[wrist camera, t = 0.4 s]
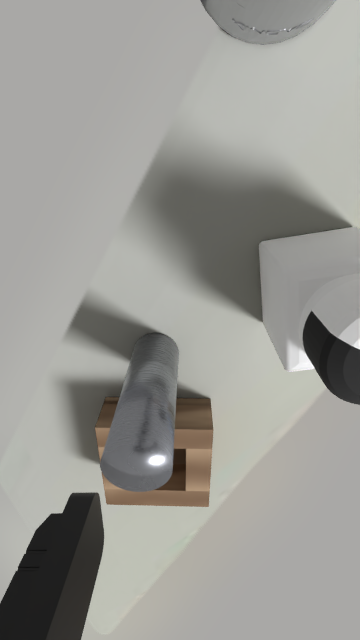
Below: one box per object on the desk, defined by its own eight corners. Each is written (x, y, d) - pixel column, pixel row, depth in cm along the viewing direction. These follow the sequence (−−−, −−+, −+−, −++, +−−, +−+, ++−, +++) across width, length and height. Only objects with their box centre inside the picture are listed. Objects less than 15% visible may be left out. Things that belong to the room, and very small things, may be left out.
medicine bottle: (350, 313, 26) (461, 416, 16) (262, 324, 27) (311, 431, 16) (356, 225, 23) (501, 277, 13) (257, 240, 24) (314, 302, 13)
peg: (132, 332, 28) (96, 440, 17) (178, 333, 28) (172, 441, 17) (135, 371, 29) (104, 491, 19) (178, 371, 29) (173, 492, 19)
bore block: (105, 396, 31) (95, 427, 27) (210, 398, 31) (213, 429, 27) (115, 469, 35) (106, 504, 32) (206, 471, 35) (208, 506, 31)
